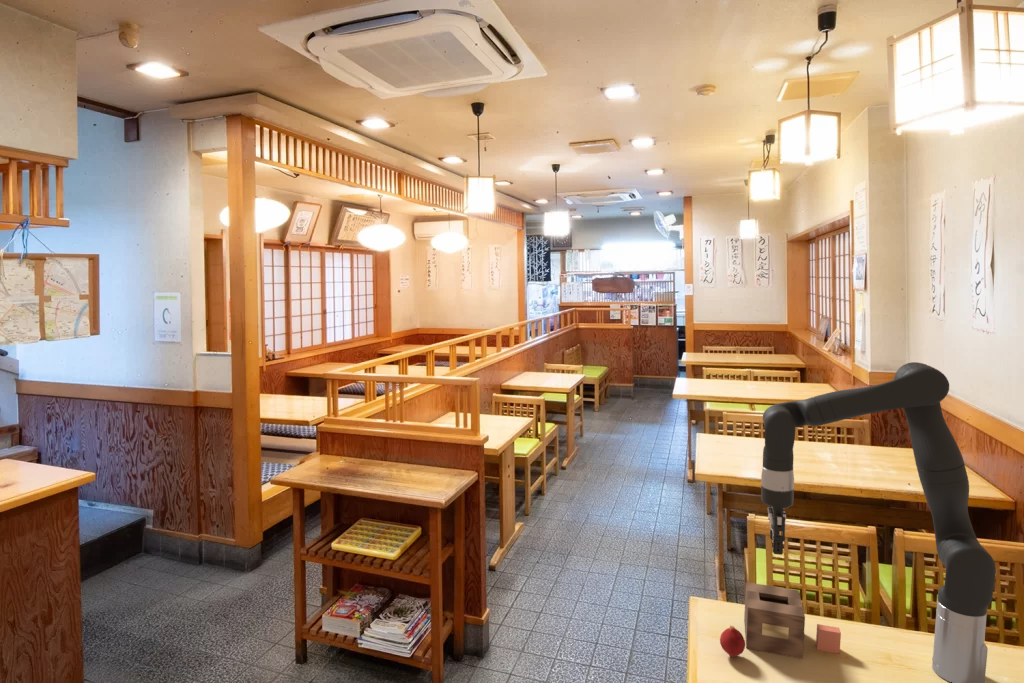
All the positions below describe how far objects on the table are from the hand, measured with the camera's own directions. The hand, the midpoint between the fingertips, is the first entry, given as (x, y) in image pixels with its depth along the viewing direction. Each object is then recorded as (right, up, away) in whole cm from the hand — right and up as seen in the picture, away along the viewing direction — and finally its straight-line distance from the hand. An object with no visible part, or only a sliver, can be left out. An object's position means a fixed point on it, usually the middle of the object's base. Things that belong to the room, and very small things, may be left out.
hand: (776, 546), depth 150 cm
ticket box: (+1, -25, +4) cm, 26 cm away
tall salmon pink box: (+13, -26, -1) cm, 29 cm away
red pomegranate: (-13, -26, -3) cm, 29 cm away
